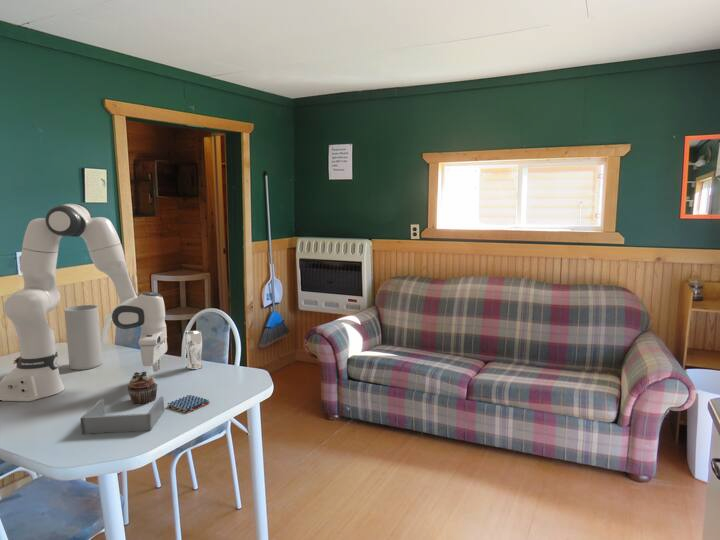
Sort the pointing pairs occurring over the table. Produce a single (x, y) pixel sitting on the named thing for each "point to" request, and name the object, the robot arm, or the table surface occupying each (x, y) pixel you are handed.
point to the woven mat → (188, 403)
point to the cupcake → (142, 388)
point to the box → (120, 419)
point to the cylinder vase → (83, 337)
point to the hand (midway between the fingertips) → (156, 370)
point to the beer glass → (193, 349)
